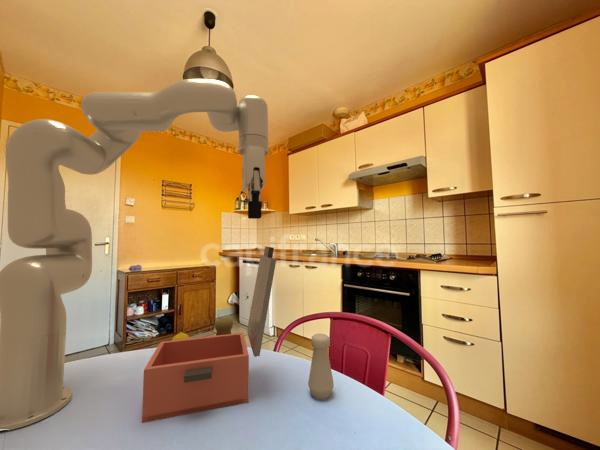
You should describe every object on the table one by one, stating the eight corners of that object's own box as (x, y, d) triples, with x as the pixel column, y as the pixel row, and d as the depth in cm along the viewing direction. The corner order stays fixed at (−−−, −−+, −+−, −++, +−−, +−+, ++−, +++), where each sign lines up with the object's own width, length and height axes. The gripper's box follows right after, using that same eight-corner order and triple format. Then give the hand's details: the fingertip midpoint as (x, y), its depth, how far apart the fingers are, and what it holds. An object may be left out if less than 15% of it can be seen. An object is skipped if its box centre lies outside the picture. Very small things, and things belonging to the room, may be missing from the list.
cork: (236, 352, 78) (237, 316, 78) (229, 361, 72) (229, 322, 72) (218, 351, 78) (218, 315, 79) (209, 360, 72) (209, 321, 73)
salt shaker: (315, 383, 60) (315, 329, 61) (337, 391, 57) (337, 333, 58) (303, 397, 55) (303, 337, 56) (327, 405, 52) (326, 342, 53)
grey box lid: (273, 247, 56) (278, 248, 56) (262, 245, 71) (266, 246, 72) (253, 358, 53) (259, 359, 54) (246, 332, 69) (250, 332, 69)
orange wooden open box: (137, 432, 45) (139, 376, 46) (161, 377, 63) (162, 338, 64) (249, 409, 51) (249, 360, 52) (242, 365, 69) (242, 329, 70)
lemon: (164, 364, 70) (165, 334, 71) (178, 355, 76) (179, 328, 76) (181, 366, 69) (182, 336, 69) (194, 357, 74) (195, 329, 75)
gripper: (237, 155, 70) (237, 220, 69) (240, 134, 56) (241, 215, 55) (263, 157, 72) (264, 220, 71) (273, 137, 58) (275, 215, 57)
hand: (254, 218), depth 63 cm, fingers closed
